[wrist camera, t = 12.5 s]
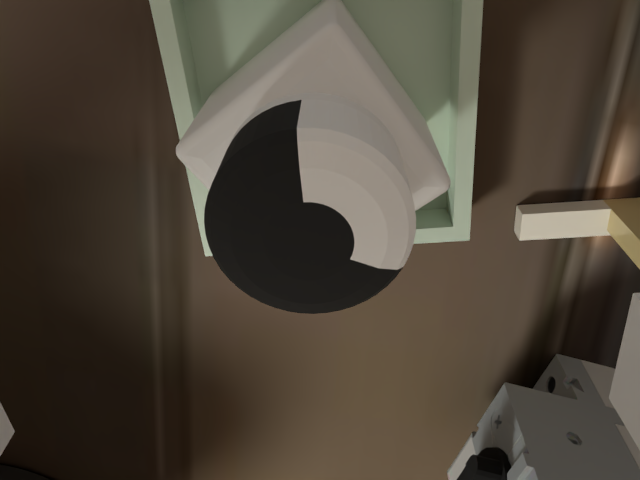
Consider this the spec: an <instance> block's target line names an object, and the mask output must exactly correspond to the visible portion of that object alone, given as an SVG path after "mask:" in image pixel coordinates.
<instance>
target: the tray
mask: <svg viewBox="0 0 640 480" xmlns="http://www.w3.org/2000/svg"><path fill="white" fill-rule="evenodd" d="M321 1H322V0H149V3H150V7H151V12H152V16H153V21H154V25H155V30H156V34H157V39H158V44H159V48H160V53H161V57H162V62H163V66H164V71H165V75H166V80H167V84H168V89H169V94H170V98H171V103H172V107H173V112H174V116H175V121H176V125H177V130H178V135H179V139H180V140H181V139H182V137H183V136H184V134H185V133H186V131H187V130H188V128H189V127H190V125H191V124H192V122H193V120H194V119H195V117H196V116H197V114H198V113H199V111H200V110H201V108H202V107H203V105H204V104H205V102H206V101H207V99H208V98H209V96H210V95H211V93H212V92H213V91H214V90H215V89H216V88H217V87H218V86H220V85H221V84H222V83H223V82H224V81H226V80H227V79H228V78H229V77H231V76H232V75H233V74H234V73H235V72H237V71H238V70H239V69H240V68H241V67H243V66H244V65H245V64H246V63H247V62H249V61H250V60H251V59H252V58H253V57H255V56H256V55H257V54H258V53H259V52H261V51H262V50H263V49H264V48H265V47H267V46H268V45H269V44H270V43H271V42H273V41H274V40H275V39H276V38H277V37H279V36H280V35H281V34H282V33H283V32H285V31H286V30H287V29H288V28H289V27H291V26H292V25H293V24H294V23H295V22H297V21H298V20H299V19H300V18H301V17H303V16H304V15H305V14H306V13H307V12H309V11H310V10H311V9H312V8H313V7H315V6H316V5H317V4H318V3H319V2H321ZM341 1H342V2H343V3H344V5H345V6H346V8H347V9H348V10H349V12H350V13H351V15H352V16H353V18H354V19H355V20H356V22H357V23H358V25H359V26H360V28H361V29H362V30H363V32H364V33H365V35H366V36H367V37H368V39H369V40H370V42H371V43H372V45H373V46H374V47H375V49H376V50H377V52H378V53H379V55H380V56H381V57H382V59H383V60H384V62H385V63H386V64H387V66H388V67H389V69H390V70H391V72H392V73H393V74H394V76H395V77H396V79H397V80H398V82H399V83H400V84H401V86H402V87H403V89H404V90H405V91H406V93H407V94H408V96H409V97H410V99H411V100H412V101H413V103H414V104H415V106H416V107H417V109H418V110H419V111H420V113H421V114H422V116H423V117H424V118H425V121H426V123H427V125H428V128H429V130H430V132H431V135H432V137H433V140H434V142H435V144H436V147H437V149H438V151H439V154H440V156H441V158H442V161H443V163H444V166H445V168H446V170H447V173H448V175H449V177H450V180H451V183H450V187H449V189H448V190H447V191H446V192H444V193H443V194H441V195H440V196H438V197H437V198H435V199H433V200H432V201H430V202H429V203H427V204H426V205H424V206H422V207H421V208H419V209H418V210H416V211H415V213H416V233H415V238H414V244H419V243H436V242H452V241H469V240H470V225H471V207H472V190H473V173H474V155H475V138H476V120H477V103H478V85H479V68H480V51H481V33H482V16H483V0H341ZM186 171H187V175H188V180H189V185H190V189H191V194H192V198H193V203H194V207H195V212H196V216H197V221H198V226H199V230H200V235H201V239H202V244H203V248H204V253H205V256H213V255H212V253H211V250H210V248H209V245H208V242H207V238H206V234H205V226H204V210H205V204H206V199H207V195H208V192H209V190H208V189H207V188H206V187H205V186H204V185H203V183H202V182H201V181H200V180H199V179H198V178H197V177H196V176H195V175H194V174H193V173H192V172H191V171H190V170H189V169H188V168H187V167H186Z"/></svg>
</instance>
